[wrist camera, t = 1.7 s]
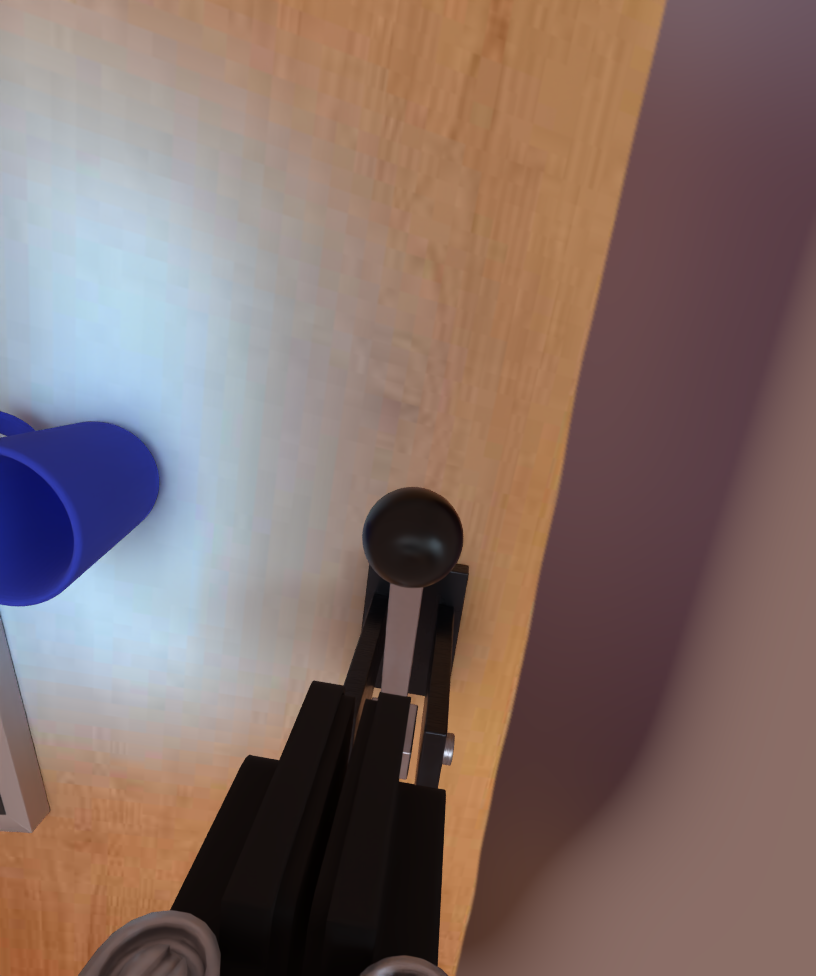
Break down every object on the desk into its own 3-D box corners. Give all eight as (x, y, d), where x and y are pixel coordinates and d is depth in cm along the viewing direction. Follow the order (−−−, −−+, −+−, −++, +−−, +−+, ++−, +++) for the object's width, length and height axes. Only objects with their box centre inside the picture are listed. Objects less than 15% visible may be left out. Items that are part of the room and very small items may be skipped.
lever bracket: (372, 550, 38) (326, 667, 26) (468, 565, 38) (467, 691, 26) (358, 673, 41) (310, 832, 29) (447, 689, 41) (436, 855, 29)
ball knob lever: (374, 459, 20) (353, 531, 17) (473, 474, 20) (465, 548, 17) (362, 715, 31) (348, 779, 29) (424, 726, 31) (416, 791, 29)
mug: (27, 342, 37) (-130, 357, 27) (200, 457, 38) (108, 511, 28) (-22, 451, 39) (-182, 501, 30) (141, 557, 40) (39, 637, 31)
